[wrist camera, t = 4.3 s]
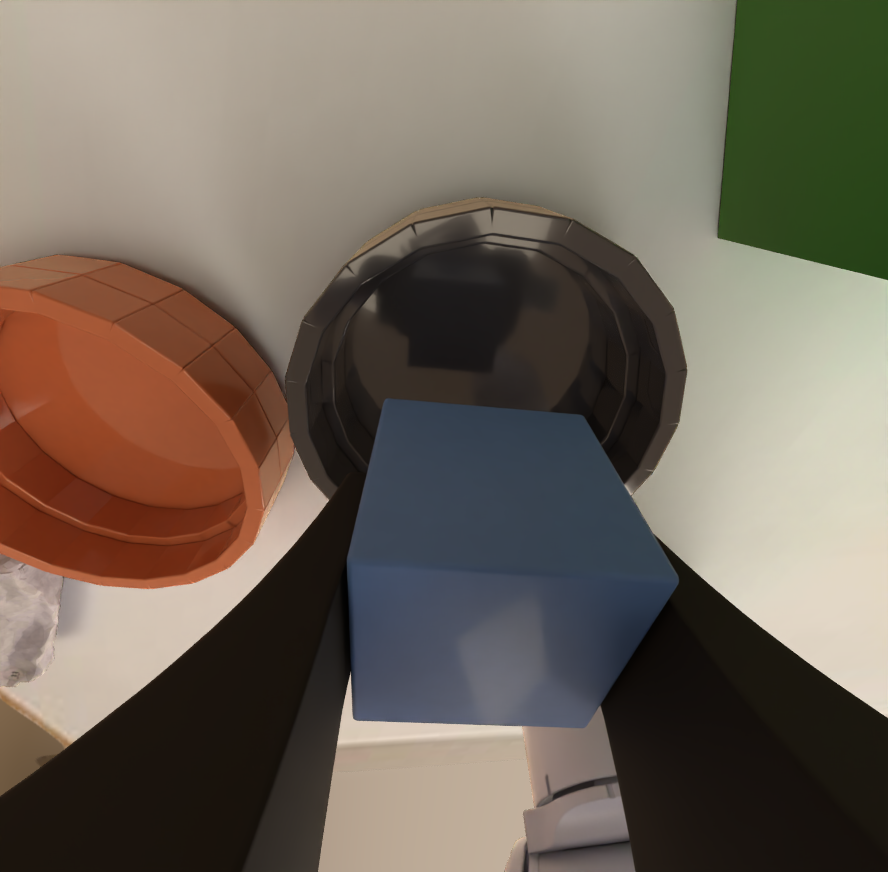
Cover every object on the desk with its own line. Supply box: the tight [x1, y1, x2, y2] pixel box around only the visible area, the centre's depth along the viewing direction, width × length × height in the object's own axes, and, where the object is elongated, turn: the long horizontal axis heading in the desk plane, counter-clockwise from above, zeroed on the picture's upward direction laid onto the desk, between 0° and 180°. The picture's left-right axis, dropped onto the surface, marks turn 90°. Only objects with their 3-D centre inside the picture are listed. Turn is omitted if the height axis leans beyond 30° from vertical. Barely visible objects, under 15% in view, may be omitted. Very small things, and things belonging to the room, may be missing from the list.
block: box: [347, 398, 679, 728], centre depth 8 cm, size 4×4×4 cm
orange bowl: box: [0, 255, 294, 589], centre depth 15 cm, size 12×12×4 cm
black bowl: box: [285, 197, 687, 500], centre depth 14 cm, size 12×12×4 cm
